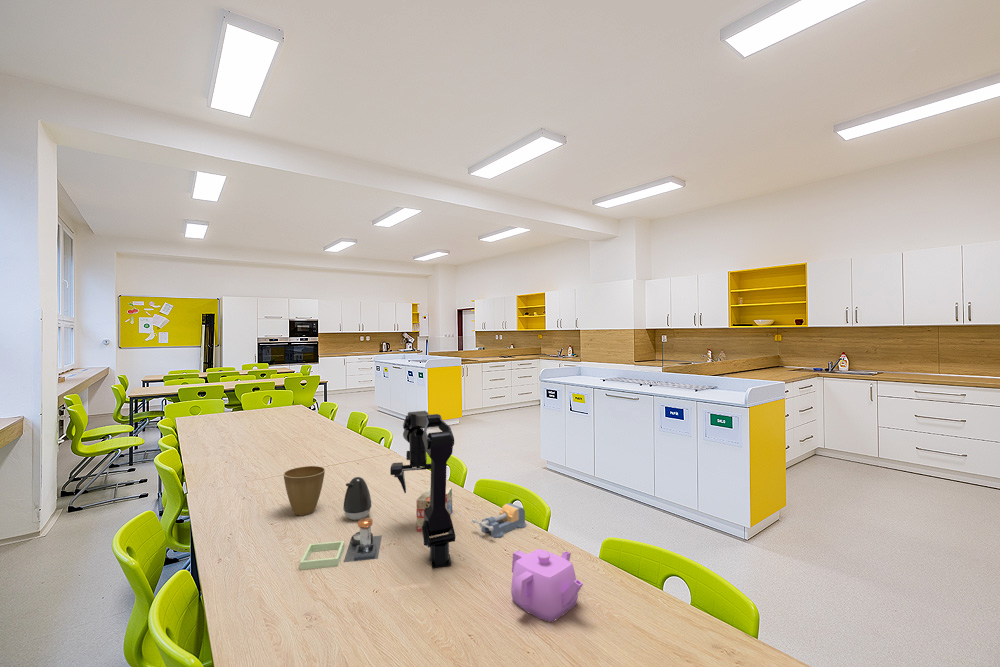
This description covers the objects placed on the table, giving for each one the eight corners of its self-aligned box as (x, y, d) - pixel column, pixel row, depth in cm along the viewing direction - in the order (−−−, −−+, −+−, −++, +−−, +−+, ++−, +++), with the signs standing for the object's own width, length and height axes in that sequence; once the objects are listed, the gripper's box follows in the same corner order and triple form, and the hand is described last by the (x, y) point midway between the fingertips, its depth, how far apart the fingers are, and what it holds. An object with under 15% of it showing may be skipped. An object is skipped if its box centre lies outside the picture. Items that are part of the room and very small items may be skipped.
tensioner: (377, 561, 135) (377, 547, 135) (343, 565, 133) (343, 550, 133) (381, 538, 151) (381, 525, 151) (351, 541, 149) (351, 528, 149)
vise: (509, 518, 167) (508, 500, 167) (529, 526, 159) (528, 508, 159) (471, 532, 155) (471, 513, 155) (490, 543, 147) (490, 522, 147)
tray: (338, 569, 131) (338, 558, 131) (300, 573, 130) (299, 562, 130) (344, 550, 143) (344, 540, 143) (309, 553, 141) (309, 544, 141)
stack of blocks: (437, 510, 174) (437, 479, 174) (452, 511, 173) (452, 480, 173) (416, 534, 154) (416, 499, 154) (433, 536, 152) (433, 500, 152)
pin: (372, 556, 137) (371, 523, 137) (357, 557, 136) (356, 524, 136) (373, 549, 141) (373, 517, 141) (359, 551, 140) (358, 518, 140)
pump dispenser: (337, 520, 167) (336, 479, 167) (357, 510, 176) (357, 471, 176) (357, 525, 162) (356, 483, 162) (377, 514, 171) (376, 475, 171)
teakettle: (510, 584, 122) (509, 539, 122) (572, 583, 122) (571, 538, 122) (512, 625, 105) (512, 573, 105) (584, 623, 105) (583, 571, 105)
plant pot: (290, 523, 164) (289, 479, 164) (279, 511, 176) (279, 470, 176) (330, 512, 174) (330, 471, 174) (318, 501, 185) (318, 463, 185)
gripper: (443, 440, 166) (444, 482, 165) (392, 443, 163) (393, 486, 162) (444, 447, 155) (445, 492, 154) (389, 451, 152) (390, 496, 151)
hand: (418, 491), depth 156 cm, fingers open, 9 cm apart
